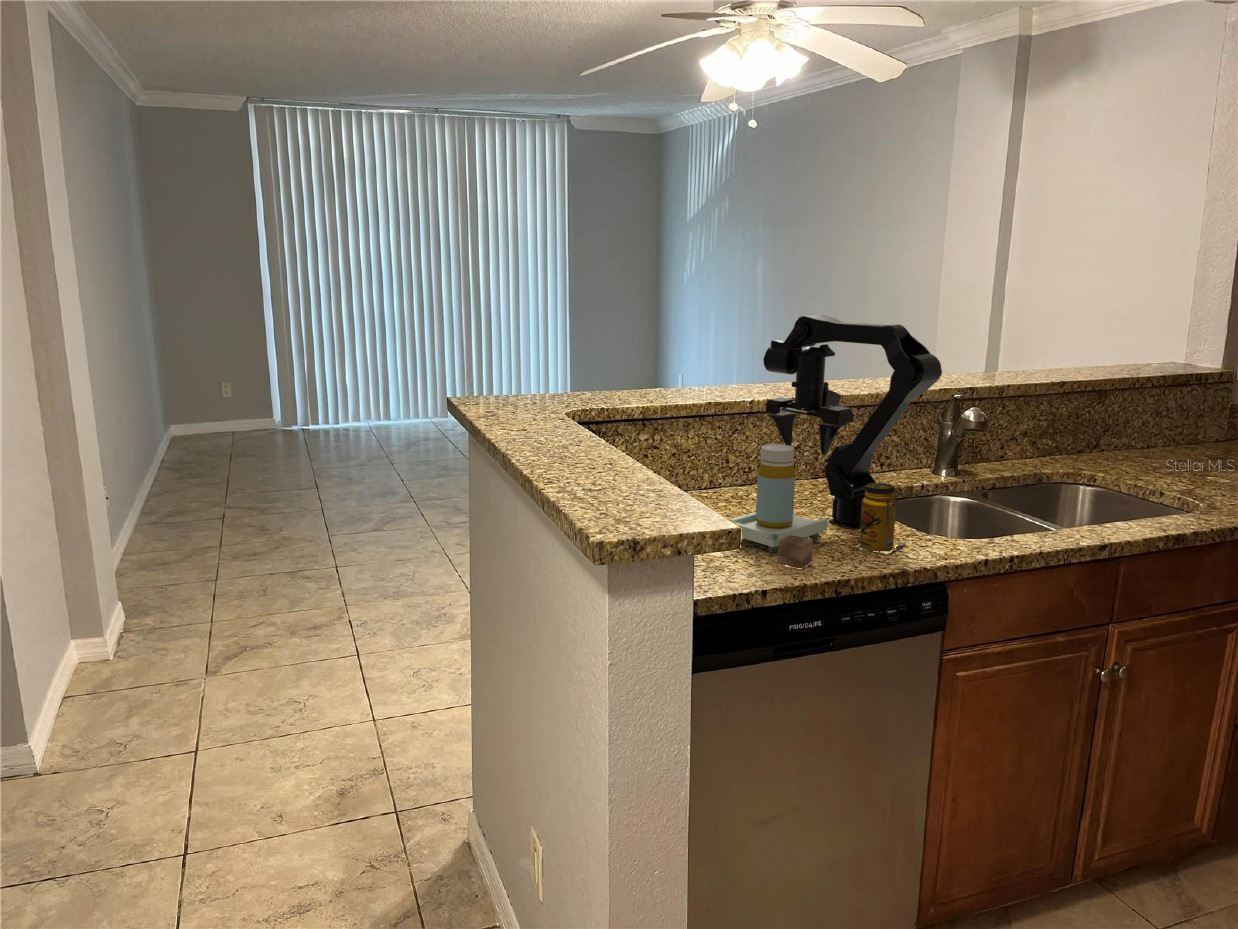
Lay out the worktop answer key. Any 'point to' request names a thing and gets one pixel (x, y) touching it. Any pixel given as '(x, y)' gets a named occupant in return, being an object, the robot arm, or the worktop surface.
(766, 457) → the bottle
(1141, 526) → the worktop surface
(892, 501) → the condiment
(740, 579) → the worktop surface
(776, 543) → the tray
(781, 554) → the walnut block
